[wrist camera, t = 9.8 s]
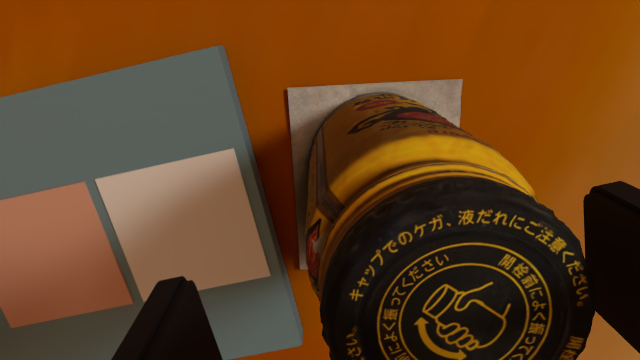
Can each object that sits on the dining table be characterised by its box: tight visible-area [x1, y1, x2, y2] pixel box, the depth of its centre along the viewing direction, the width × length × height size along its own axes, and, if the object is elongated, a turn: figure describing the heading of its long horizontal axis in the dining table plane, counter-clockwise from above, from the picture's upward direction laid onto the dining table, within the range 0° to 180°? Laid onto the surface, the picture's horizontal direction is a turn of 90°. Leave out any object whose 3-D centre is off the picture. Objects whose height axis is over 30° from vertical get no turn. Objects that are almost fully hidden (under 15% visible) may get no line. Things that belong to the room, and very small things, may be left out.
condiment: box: [288, 79, 596, 360], centre depth 14 cm, size 7×8×12 cm
